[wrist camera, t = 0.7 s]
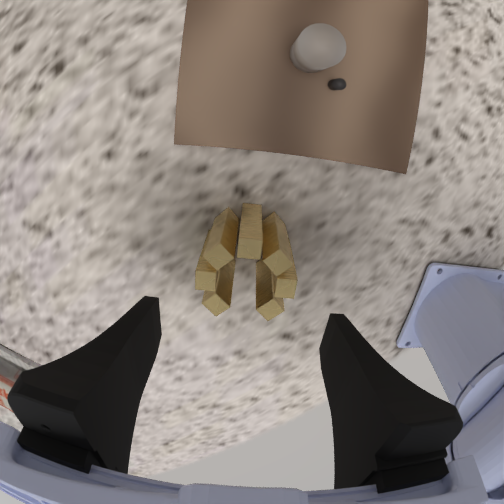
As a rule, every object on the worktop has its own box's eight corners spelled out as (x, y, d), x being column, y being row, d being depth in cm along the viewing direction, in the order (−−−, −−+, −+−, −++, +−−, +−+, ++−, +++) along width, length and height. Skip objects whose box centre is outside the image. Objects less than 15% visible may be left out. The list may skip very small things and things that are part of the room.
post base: (417, 5, 13) (459, -13, 9) (396, 168, 18) (434, 192, 14) (199, -33, 13) (181, -69, 8) (180, 140, 18) (154, 156, 13)
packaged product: (-11, 407, 27) (-31, 360, 22) (4, 382, 31) (-11, 333, 27) (112, 466, 29) (113, 433, 25) (121, 435, 34) (125, 396, 29)
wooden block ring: (293, 208, 19) (304, 244, 15) (282, 274, 22) (288, 322, 17) (210, 200, 19) (196, 234, 15) (207, 267, 21) (195, 314, 17)
